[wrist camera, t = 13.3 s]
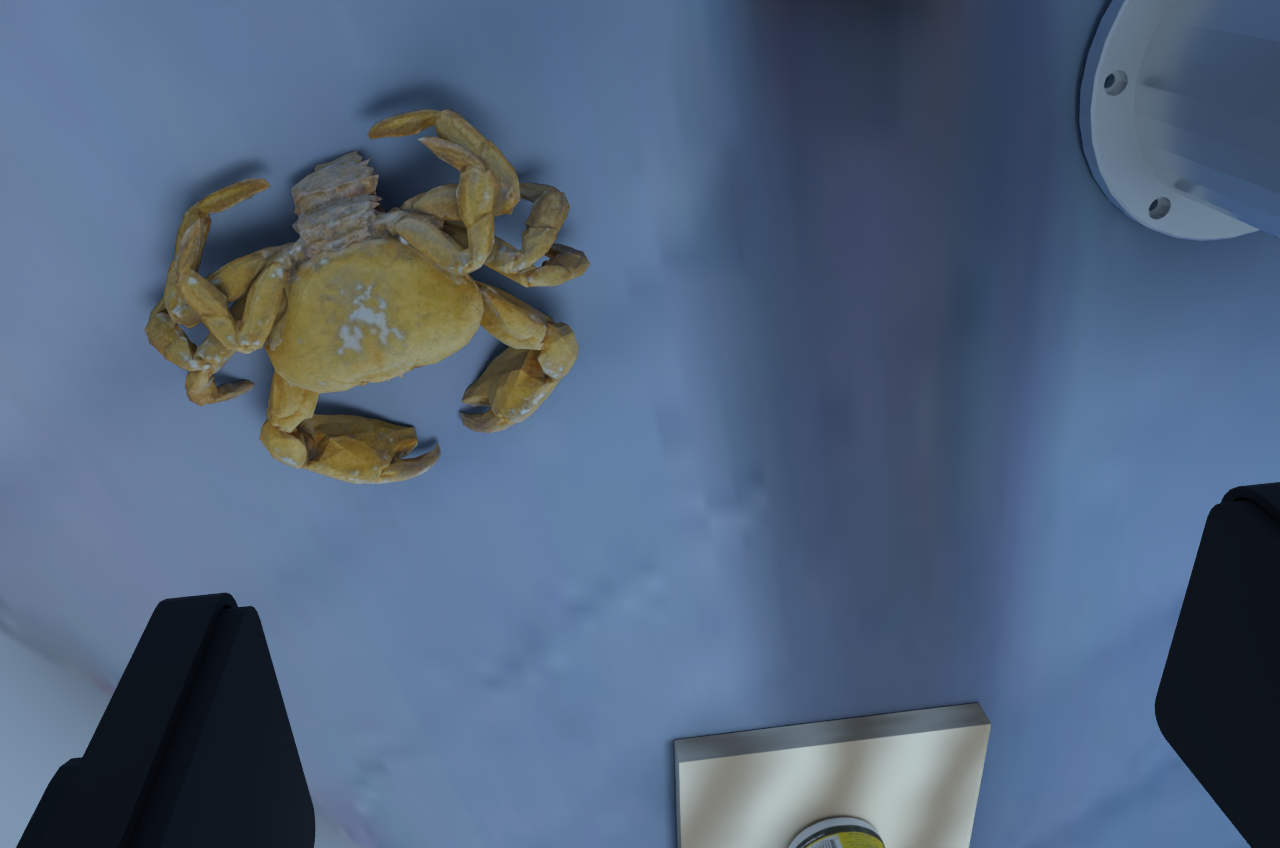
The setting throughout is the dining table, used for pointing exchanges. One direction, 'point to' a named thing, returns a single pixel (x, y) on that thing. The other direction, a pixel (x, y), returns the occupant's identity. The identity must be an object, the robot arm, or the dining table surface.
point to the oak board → (835, 779)
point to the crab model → (375, 300)
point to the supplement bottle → (839, 835)
